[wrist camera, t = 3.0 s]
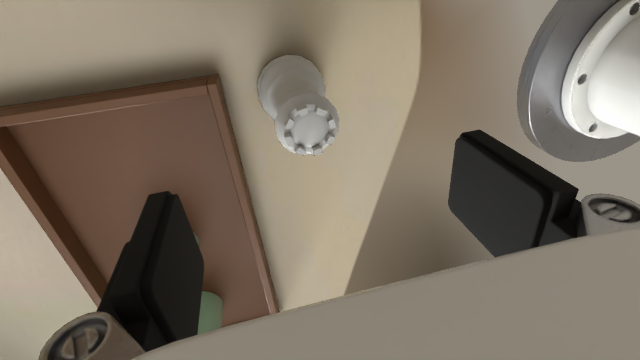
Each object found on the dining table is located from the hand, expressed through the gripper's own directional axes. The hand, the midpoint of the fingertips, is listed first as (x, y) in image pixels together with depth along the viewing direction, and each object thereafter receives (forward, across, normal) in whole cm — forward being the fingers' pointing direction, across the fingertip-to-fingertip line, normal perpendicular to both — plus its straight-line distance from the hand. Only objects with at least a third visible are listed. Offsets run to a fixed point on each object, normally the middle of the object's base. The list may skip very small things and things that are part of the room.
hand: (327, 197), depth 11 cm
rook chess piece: (+14, -1, 0) cm, 14 cm away
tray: (+14, +10, +11) cm, 20 cm away
